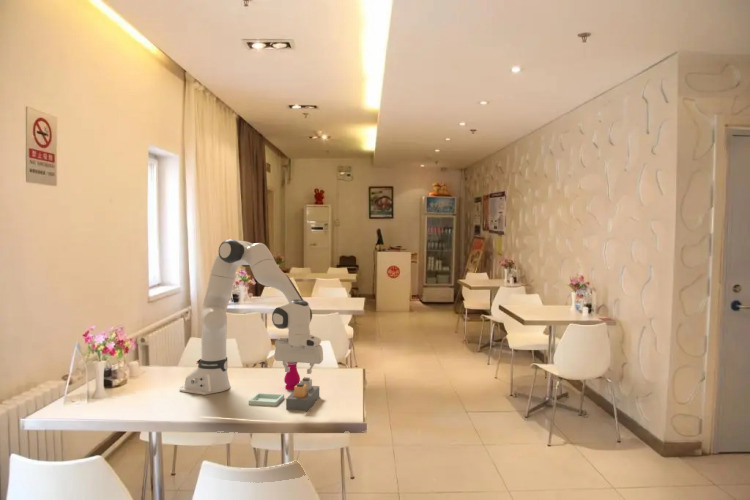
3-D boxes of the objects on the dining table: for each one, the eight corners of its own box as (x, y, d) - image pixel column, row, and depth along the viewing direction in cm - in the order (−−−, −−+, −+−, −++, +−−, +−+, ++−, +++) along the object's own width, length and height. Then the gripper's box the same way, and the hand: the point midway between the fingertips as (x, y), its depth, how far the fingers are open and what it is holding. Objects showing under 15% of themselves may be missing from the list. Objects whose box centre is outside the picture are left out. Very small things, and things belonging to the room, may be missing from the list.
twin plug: (300, 397, 214) (300, 379, 214) (303, 394, 218) (303, 376, 218) (309, 397, 213) (309, 379, 213) (311, 394, 217) (311, 377, 217)
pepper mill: (296, 392, 227) (296, 348, 226) (281, 391, 229) (281, 347, 228) (302, 387, 234) (302, 345, 233) (287, 386, 236) (287, 344, 235)
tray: (248, 405, 209) (248, 400, 209) (257, 397, 219) (257, 392, 219) (275, 407, 208) (275, 402, 207) (284, 399, 217) (284, 394, 217)
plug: (294, 403, 206) (294, 385, 206) (297, 400, 210) (297, 382, 210) (303, 404, 206) (303, 385, 205) (306, 400, 210) (306, 382, 209)
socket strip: (286, 410, 204) (286, 398, 204) (299, 396, 221) (299, 385, 221) (307, 412, 202) (307, 400, 202) (319, 397, 220) (319, 386, 220)
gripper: (272, 339, 205) (271, 372, 205) (320, 342, 201) (319, 376, 202) (278, 336, 211) (277, 368, 212) (324, 339, 207) (323, 372, 208)
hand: (298, 372), depth 207 cm, fingers open, 8 cm apart
